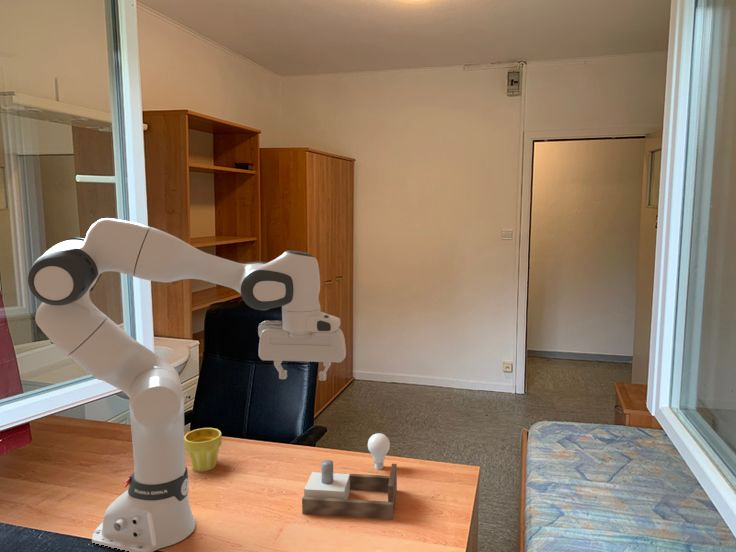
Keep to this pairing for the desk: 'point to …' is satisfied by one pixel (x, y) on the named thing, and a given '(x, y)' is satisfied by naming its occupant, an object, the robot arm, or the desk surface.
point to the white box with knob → (328, 483)
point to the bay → (358, 506)
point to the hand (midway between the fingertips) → (302, 379)
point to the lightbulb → (378, 449)
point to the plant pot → (203, 447)
